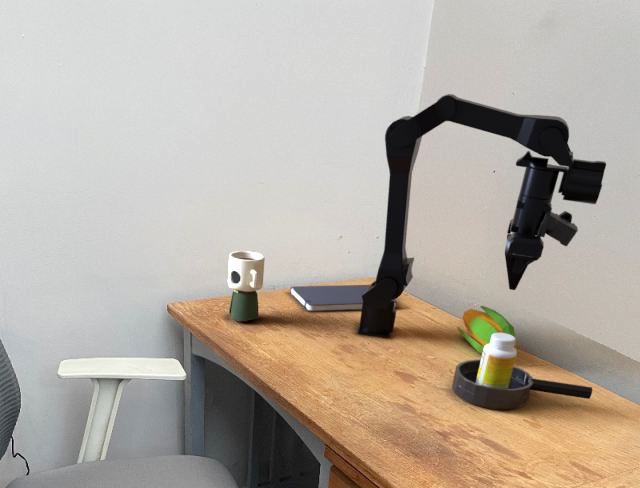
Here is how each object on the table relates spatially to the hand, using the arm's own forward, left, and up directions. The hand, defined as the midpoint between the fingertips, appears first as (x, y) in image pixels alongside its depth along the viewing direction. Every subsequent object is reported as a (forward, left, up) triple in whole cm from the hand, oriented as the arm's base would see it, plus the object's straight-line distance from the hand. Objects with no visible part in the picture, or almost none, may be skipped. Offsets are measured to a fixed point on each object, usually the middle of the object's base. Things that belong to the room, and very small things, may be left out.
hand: (512, 282), depth 147 cm
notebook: (-34, +19, -14) cm, 41 cm away
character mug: (-52, -2, -14) cm, 53 cm away
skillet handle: (+10, -22, -12) cm, 27 cm away
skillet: (-1, -22, -14) cm, 26 cm away
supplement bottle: (-2, -22, -14) cm, 26 cm away
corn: (-3, +2, -14) cm, 15 cm away
